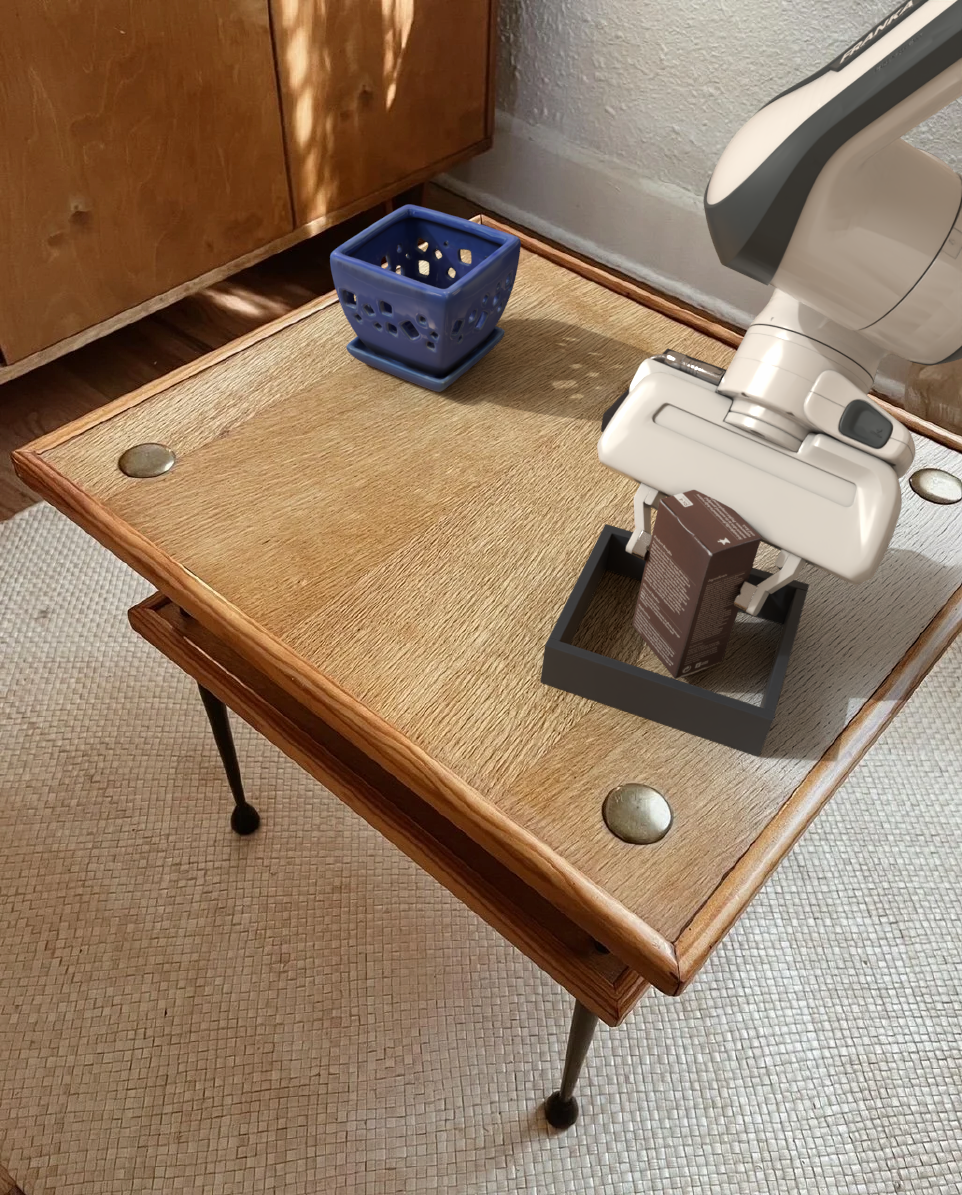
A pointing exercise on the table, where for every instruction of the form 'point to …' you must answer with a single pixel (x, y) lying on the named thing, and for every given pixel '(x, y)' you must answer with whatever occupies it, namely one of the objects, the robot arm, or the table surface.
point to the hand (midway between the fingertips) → (689, 583)
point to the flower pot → (425, 294)
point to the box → (693, 581)
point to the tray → (655, 691)
